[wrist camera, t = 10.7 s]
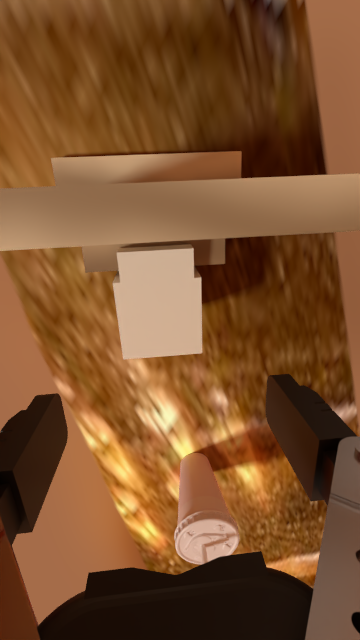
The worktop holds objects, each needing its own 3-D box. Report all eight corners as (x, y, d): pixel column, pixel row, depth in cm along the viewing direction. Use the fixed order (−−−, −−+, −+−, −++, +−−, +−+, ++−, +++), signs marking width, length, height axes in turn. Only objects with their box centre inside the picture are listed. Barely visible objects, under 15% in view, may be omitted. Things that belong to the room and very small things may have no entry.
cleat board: (55, 160, 25) (-147, 39, 8) (237, 154, 26) (391, 32, 9) (72, 260, 28) (-54, 322, 11) (236, 250, 29) (352, 294, 12)
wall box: (119, 236, 25) (108, 253, 19) (188, 233, 26) (201, 247, 19) (130, 328, 29) (124, 368, 22) (191, 324, 29) (202, 362, 23)
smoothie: (162, 454, 36) (167, 587, 23) (210, 437, 36) (243, 562, 23) (179, 489, 39) (193, 629, 25) (225, 473, 38) (262, 607, 25)
